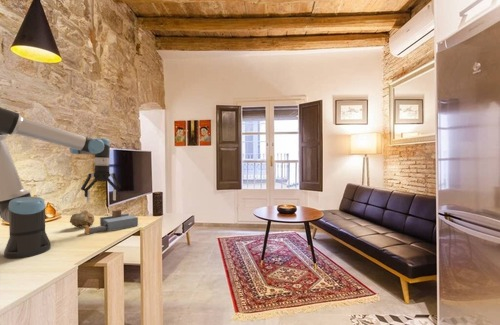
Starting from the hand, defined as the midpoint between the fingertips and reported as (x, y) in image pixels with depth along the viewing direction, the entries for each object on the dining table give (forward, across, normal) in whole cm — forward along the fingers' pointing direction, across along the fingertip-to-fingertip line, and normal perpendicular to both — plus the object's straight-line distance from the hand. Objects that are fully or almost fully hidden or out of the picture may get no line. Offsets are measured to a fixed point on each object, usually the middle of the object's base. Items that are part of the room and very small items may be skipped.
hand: (101, 201), depth 145 cm
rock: (+16, -6, +13) cm, 22 cm away
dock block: (+15, +9, 0) cm, 18 cm away
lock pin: (+16, -2, -6) cm, 17 cm away
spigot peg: (+16, +10, +3) cm, 18 cm away
